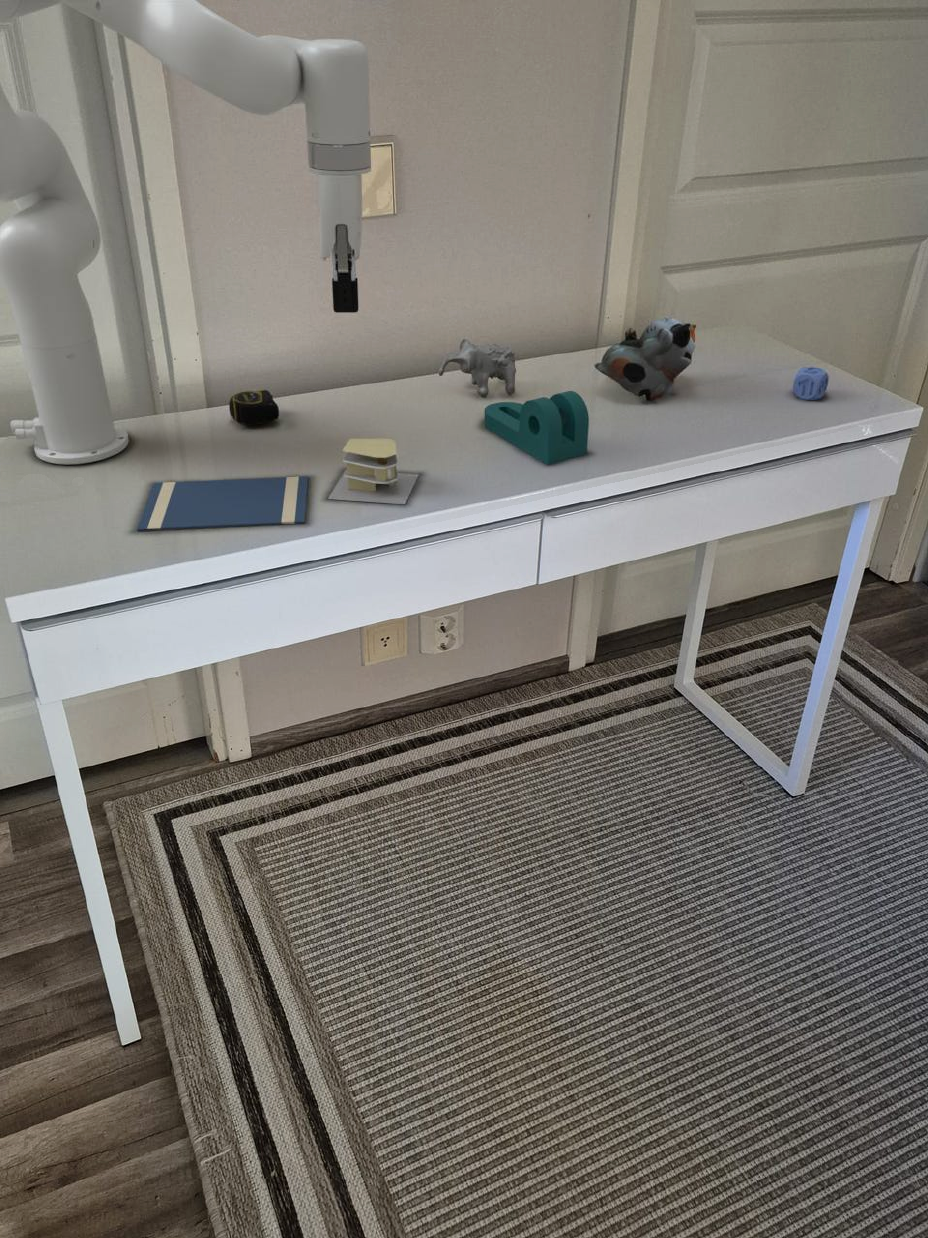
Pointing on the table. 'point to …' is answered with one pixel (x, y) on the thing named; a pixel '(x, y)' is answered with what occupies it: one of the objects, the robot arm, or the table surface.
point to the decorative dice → (810, 383)
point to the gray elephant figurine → (485, 365)
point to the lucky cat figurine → (650, 358)
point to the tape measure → (253, 407)
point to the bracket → (543, 426)
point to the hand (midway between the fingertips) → (346, 310)
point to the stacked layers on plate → (373, 473)
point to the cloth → (225, 503)
